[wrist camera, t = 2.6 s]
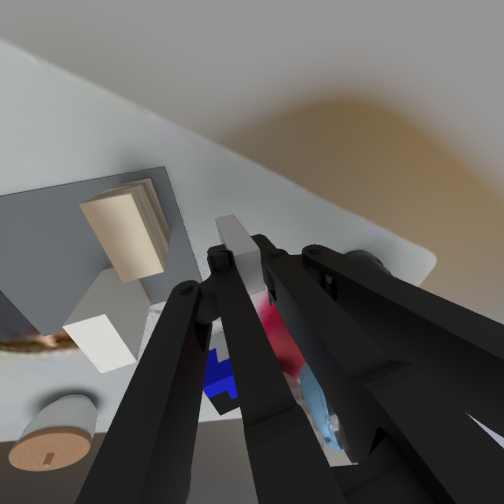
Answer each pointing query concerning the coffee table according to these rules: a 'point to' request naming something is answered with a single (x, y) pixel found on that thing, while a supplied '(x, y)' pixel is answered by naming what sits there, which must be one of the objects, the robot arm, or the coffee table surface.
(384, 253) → the coffee table surface
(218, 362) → the puzzle toy
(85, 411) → the lidded jar
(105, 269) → the cream slab
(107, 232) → the oak slab
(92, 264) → the mat
